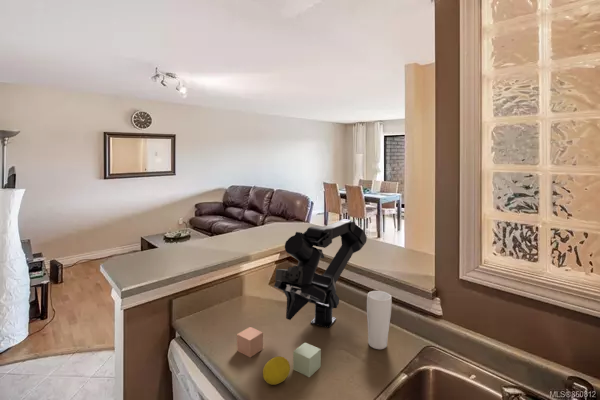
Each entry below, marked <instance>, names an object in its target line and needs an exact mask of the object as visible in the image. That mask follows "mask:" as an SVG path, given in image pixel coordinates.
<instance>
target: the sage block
mask: <svg viewBox="0 0 600 400" xmlns="http://www.w3.org/2000/svg"><path fill="white" fill-rule="evenodd" d="M321 350H322V349H321V348H320V347H316V346H314V345H312V344H310V343H308V342H304V343H302V344H301V345H299V346H298V347H297V348H295V349H294V350H293V351H292V355H293V356H292V358H293V359H292V364H293V365H292V368H293V369H292V370H293V371H296V372H298V373H300V374H301V375H303V376H306V377H307V378H310V377H311V376H313V375H314V374H315V372H317V371H318V370H319V369H320V368H321V363H322V362H321V361H322V360H321V357H322V351H321Z"/></svg>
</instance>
